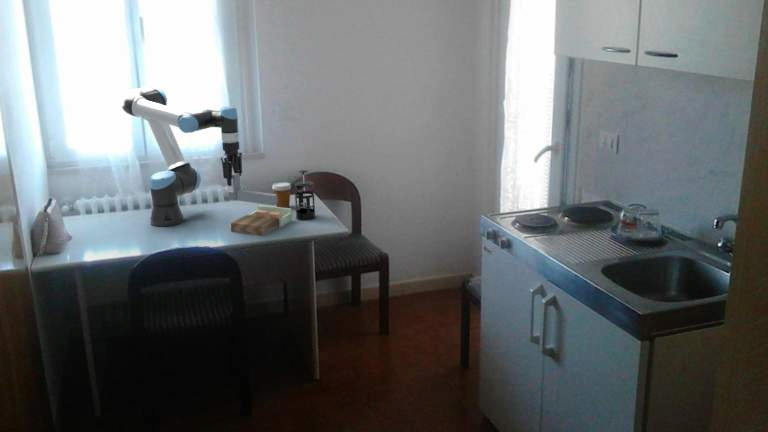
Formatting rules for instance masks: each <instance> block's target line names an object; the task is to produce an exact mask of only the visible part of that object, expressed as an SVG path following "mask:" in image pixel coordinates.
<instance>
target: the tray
mask: <svg viewBox="0 0 768 432" xmlns="http://www.w3.org/2000/svg"><path fill="white" fill-rule="evenodd" d="M258 210H263V211H268V217H269V213H271V212H280V213H281V214H282V217H281V218H279V227H278V228H282V227H284V226H287V225H289V223H291V222H293V209H292V208H290V207H289V208H281V207H276V206H272V205H263V204H261V205H260V204H259V205H257V210H255V211H253V212H251V213H249V214H248V215H252V216H256V215H255V212H256V211H258Z"/></svg>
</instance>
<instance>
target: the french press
mask: <svg viewBox="0 0 768 432" xmlns="http://www.w3.org/2000/svg"><path fill="white" fill-rule="evenodd" d="M298 172H299V173H300V174H301V175H302V177H303V180H302V181H297V182H295V183H294V184H293V185H294V186H295V190H297V191H296V192H295V193H294V198H295V199H294V201H295V202H294V203H295V215H296V216H295V219H296V220H297V221H302V222H304V221H311V220H314V219H316V218H317V217H316V210H315V209H316V208H315V205H316V204H315V192H314V191H311V190H306V189H305V187H309V188H312V189H313V188H314V186H313V185H314V182H313V181H309V180H308V181H307V180H305V174H306V173H308V172H309V171H308V170H306V169H304V170H302V169H301V170H298ZM311 199H312V202H311Z"/></svg>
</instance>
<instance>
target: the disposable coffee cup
mask: <svg viewBox="0 0 768 432" xmlns="http://www.w3.org/2000/svg"><path fill="white" fill-rule="evenodd" d="M271 188H272V190H273V191H272V192H273V194H277V204H276V205H275V207H281V208H290V201H291V188H292V185H291V183H290V182H282V181H281V182H274V183H273V184H272V187H271Z"/></svg>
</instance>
